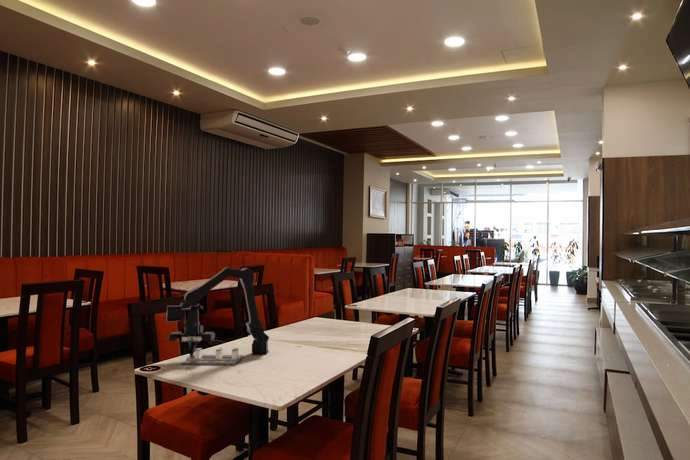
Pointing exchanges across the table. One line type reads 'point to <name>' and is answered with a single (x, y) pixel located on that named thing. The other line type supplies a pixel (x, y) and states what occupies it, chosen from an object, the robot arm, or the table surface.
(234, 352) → the breaker
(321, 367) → the table surface
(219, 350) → the breaker
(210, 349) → the table surface
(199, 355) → the breaker
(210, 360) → the panel
